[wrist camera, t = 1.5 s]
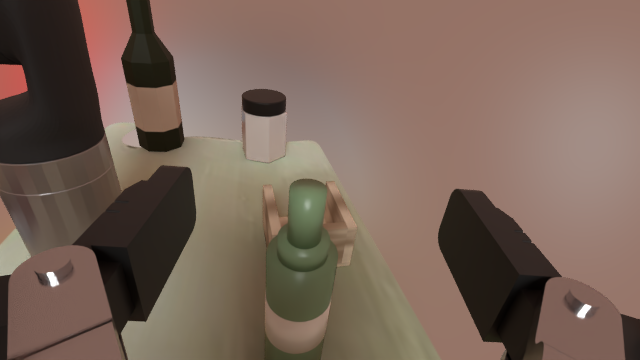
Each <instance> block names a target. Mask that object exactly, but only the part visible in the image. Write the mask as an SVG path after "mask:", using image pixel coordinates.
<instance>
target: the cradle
mask: <svg viewBox="0 0 640 360" xmlns="http://www.w3.org/2000/svg"><path fill="white" fill-rule="evenodd" d="M326 187H327V198H326V206H325V213H324V221H323V227H324V228H325V229H326V230H327V231H328V233H329V235H330V240H331V241H332V242H333V243H334V245H335V246H336V248H337V251H338V261H337V267H339V266H348V265H350V261H351V256H352V251H353V246H354V241H355V236H356V231H357V226H356V224H355V222H354V220H353V218H352V216H351V214H350V212H349V210H348V208H347V206H346V204H345V202H344V200H343V198H342V196H341V194H340V192H339V190H338V188H337V186H336V184H335V182H334V181H329V182H326ZM287 223H288V216H287V217H279V216H278V211H277V207H276V202H275V198H274V193H273V189H272V185H263V226H264V233H265V239H266V245H267V247H268V245H269V243H270V241H271V240H272V239H273V238H274V237H275V236H277V235H278V232H279V230H280V229H281V228H282V227H283V226H284V225H285V224H287Z"/></svg>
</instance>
